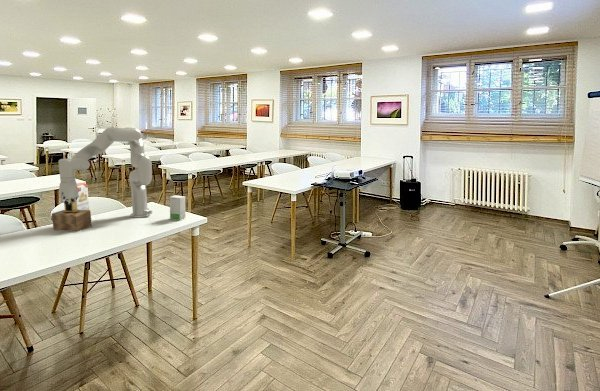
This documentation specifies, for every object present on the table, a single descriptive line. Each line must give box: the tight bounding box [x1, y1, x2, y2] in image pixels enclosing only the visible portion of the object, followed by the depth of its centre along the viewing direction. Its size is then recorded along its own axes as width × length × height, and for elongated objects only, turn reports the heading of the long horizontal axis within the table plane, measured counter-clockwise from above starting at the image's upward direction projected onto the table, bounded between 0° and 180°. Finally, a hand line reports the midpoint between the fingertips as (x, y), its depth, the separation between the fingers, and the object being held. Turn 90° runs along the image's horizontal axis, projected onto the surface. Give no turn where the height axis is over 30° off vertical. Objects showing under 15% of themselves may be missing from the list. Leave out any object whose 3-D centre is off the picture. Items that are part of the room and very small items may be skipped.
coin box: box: [51, 209, 93, 233], centre depth 226 cm, size 16×12×10 cm
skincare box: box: [169, 194, 186, 221], centre depth 250 cm, size 8×7×16 cm
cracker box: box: [70, 182, 90, 210], centre depth 254 cm, size 14×6×21 cm, turn 179°
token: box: [63, 201, 78, 212], centre depth 224 cm, size 6×3×6 cm, turn 81°
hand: (71, 209), depth 224 cm, fingers closed on token, 3 cm apart
